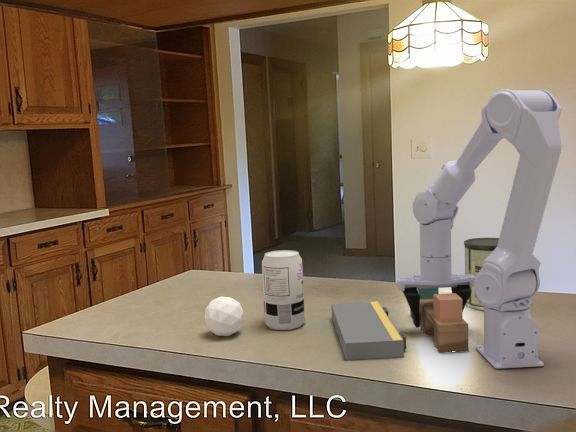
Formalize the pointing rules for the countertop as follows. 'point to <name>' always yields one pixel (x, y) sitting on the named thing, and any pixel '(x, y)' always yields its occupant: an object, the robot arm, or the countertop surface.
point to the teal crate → (427, 292)
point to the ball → (224, 316)
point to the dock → (367, 331)
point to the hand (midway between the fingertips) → (436, 324)
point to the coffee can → (477, 262)
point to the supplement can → (283, 290)
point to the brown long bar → (443, 329)
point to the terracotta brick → (448, 307)
